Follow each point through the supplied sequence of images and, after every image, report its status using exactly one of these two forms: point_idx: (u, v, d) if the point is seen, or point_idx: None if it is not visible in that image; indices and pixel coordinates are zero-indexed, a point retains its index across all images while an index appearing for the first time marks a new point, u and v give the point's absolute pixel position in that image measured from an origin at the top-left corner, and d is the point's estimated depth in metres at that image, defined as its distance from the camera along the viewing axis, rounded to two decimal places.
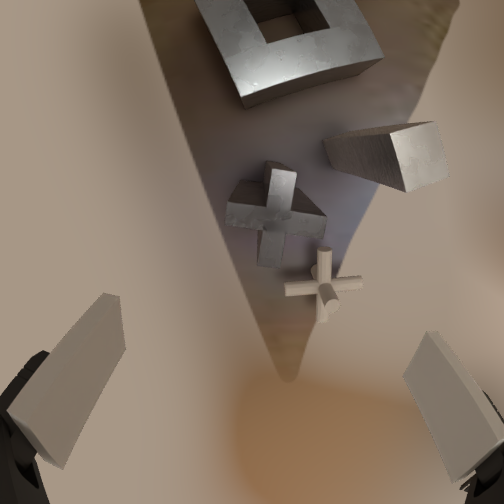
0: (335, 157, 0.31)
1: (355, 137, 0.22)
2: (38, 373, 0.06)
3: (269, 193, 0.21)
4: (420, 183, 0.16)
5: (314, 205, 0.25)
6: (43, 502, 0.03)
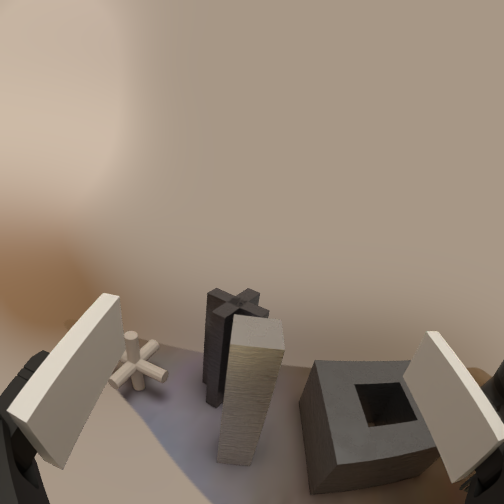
0: None
1: None
2: (38, 373, 0.06)
3: (255, 305, 0.33)
4: (236, 323, 0.22)
5: (222, 347, 0.31)
6: (43, 502, 0.03)
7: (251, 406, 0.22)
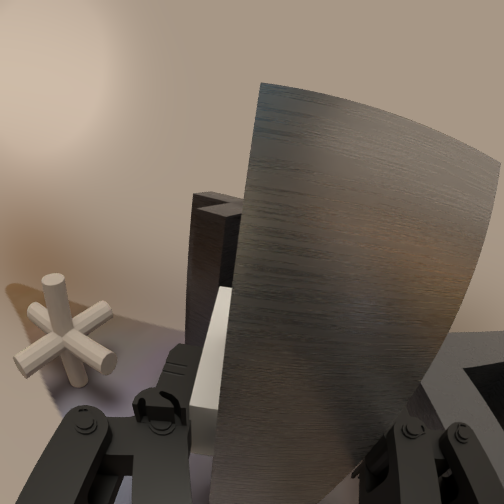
0: None
1: None
2: (204, 363, 0.08)
3: None
4: None
5: None
6: None
7: (317, 454, 0.05)
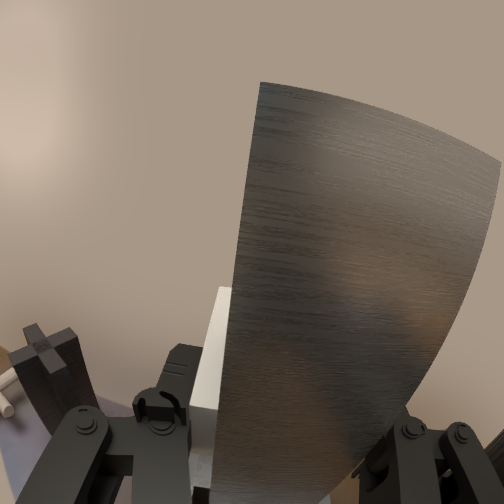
0: None
1: None
2: (204, 363, 0.08)
3: (57, 354, 0.19)
4: None
5: (30, 397, 0.17)
6: None
7: (317, 454, 0.05)
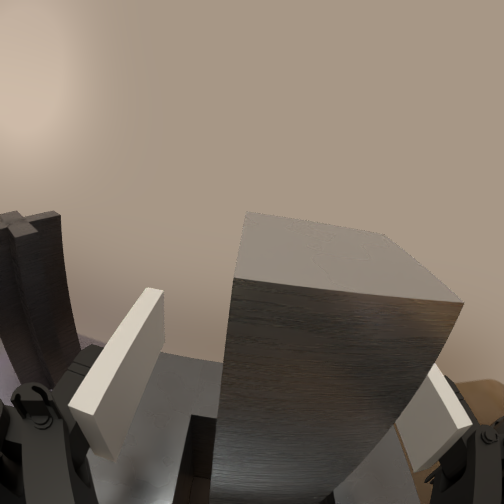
0: None
1: None
2: (97, 366, 0.07)
3: (30, 225, 0.15)
4: (256, 225, 0.06)
5: None
6: (94, 502, 0.04)
7: (292, 489, 0.06)
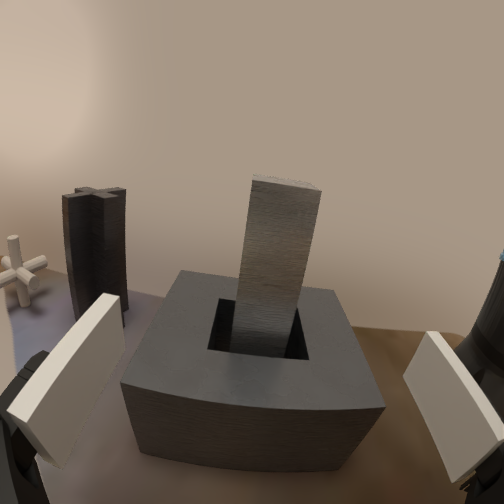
0: None
1: None
2: (38, 373, 0.06)
3: (109, 193, 0.27)
4: (257, 176, 0.18)
5: (71, 238, 0.25)
6: (43, 502, 0.03)
7: (275, 297, 0.18)
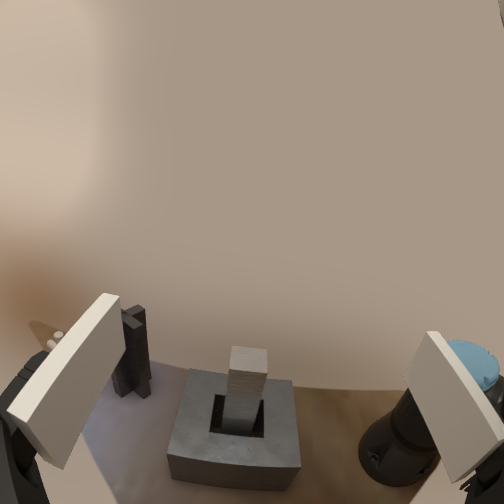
0: None
1: None
2: (38, 373, 0.06)
3: (134, 319, 0.39)
4: (233, 352, 0.30)
5: None
6: (43, 502, 0.03)
7: (244, 411, 0.30)
